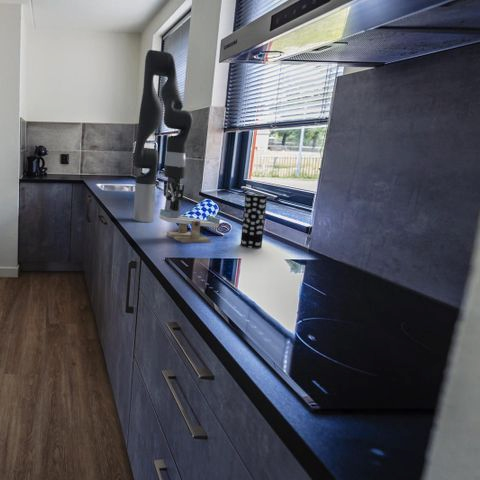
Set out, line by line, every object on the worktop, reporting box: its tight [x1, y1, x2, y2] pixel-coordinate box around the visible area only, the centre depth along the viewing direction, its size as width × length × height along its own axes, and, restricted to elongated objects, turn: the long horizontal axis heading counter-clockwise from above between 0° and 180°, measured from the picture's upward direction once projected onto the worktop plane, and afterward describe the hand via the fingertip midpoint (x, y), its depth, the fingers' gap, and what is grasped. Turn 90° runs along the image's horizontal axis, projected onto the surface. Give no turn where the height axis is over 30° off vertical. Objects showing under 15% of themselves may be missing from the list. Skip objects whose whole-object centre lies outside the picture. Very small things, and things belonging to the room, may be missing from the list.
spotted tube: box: [239, 192, 268, 249], centre depth 167 cm, size 8×8×20 cm
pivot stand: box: [166, 215, 211, 244], centre depth 170 cm, size 14×12×8 cm
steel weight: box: [163, 199, 182, 218], centre depth 164 cm, size 4×4×6 cm
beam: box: [158, 208, 221, 229], centre depth 169 cm, size 9×22×4 cm, turn 122°
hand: (171, 209), depth 164 cm, fingers open, 6 cm apart
